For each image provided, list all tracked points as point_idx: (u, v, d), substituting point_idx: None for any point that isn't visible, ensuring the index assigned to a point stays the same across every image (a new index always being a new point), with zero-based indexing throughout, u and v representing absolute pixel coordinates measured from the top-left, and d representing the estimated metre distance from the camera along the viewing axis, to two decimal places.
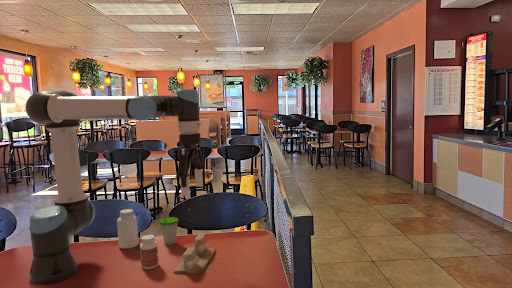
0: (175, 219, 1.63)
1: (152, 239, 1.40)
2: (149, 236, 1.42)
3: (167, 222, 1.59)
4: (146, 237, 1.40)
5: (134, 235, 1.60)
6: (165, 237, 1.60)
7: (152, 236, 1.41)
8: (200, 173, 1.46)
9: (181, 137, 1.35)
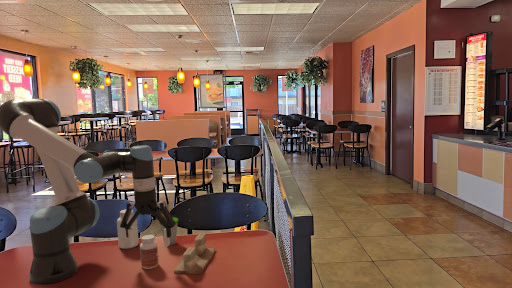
0: (175, 219, 1.63)
1: (152, 239, 1.40)
2: (149, 236, 1.42)
3: None
4: (146, 237, 1.40)
5: (134, 235, 1.60)
6: None
7: (152, 236, 1.41)
8: None
9: None
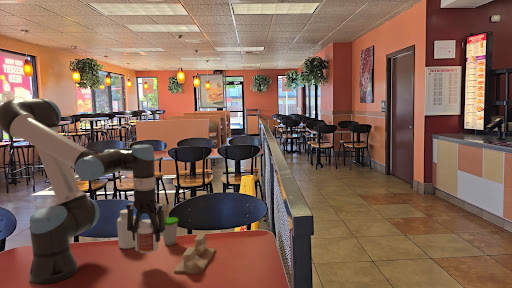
0: (175, 219, 1.63)
1: (150, 223, 1.39)
2: (147, 220, 1.41)
3: (167, 222, 1.59)
4: (143, 221, 1.40)
5: None
6: (165, 237, 1.60)
7: None
8: None
9: None
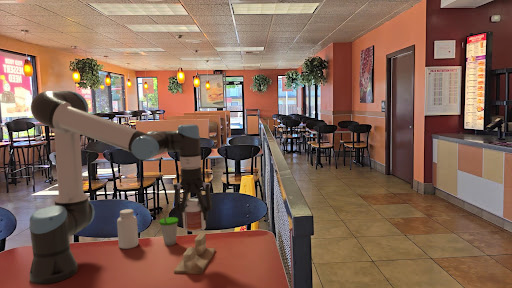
0: (175, 219, 1.63)
1: (197, 202, 1.41)
2: (194, 199, 1.43)
3: (167, 222, 1.59)
4: (191, 200, 1.41)
5: (134, 235, 1.60)
6: (165, 237, 1.60)
7: (197, 199, 1.42)
8: None
9: None
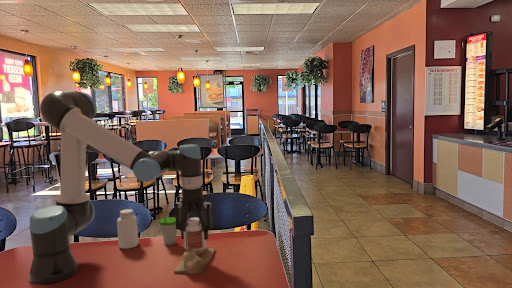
0: (175, 219, 1.63)
1: (198, 221, 1.42)
2: (195, 218, 1.44)
3: (167, 222, 1.59)
4: (192, 219, 1.42)
5: (134, 235, 1.60)
6: (165, 237, 1.60)
7: (198, 218, 1.43)
8: None
9: None
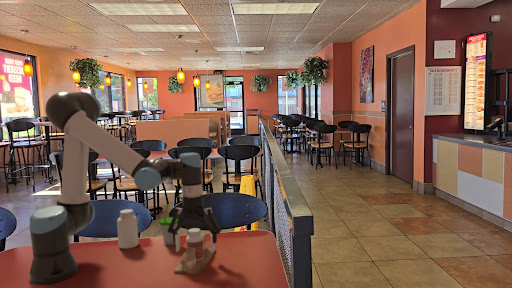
0: None
1: (198, 232, 1.42)
2: (195, 229, 1.44)
3: (167, 222, 1.59)
4: (192, 230, 1.43)
5: (134, 235, 1.60)
6: (165, 237, 1.60)
7: (198, 229, 1.44)
8: None
9: None
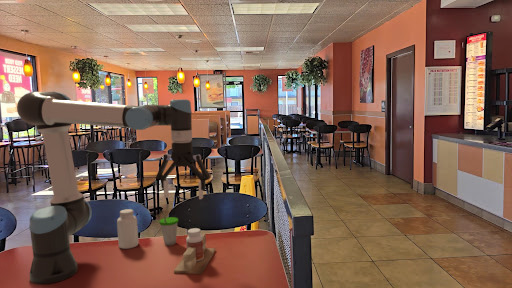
0: (175, 219, 1.63)
1: (198, 232, 1.42)
2: (195, 229, 1.44)
3: (167, 222, 1.59)
4: (192, 231, 1.43)
5: (134, 235, 1.60)
6: (165, 237, 1.60)
7: (198, 229, 1.44)
8: None
9: None
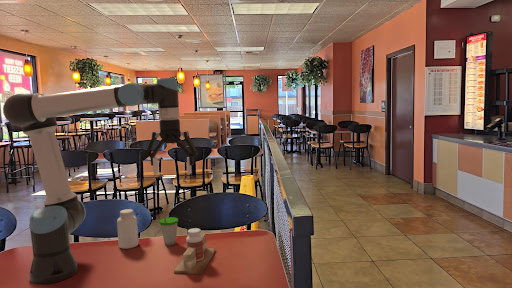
0: (175, 219, 1.63)
1: (199, 232, 1.42)
2: (195, 229, 1.44)
3: (167, 222, 1.59)
4: (192, 230, 1.43)
5: (134, 235, 1.60)
6: (165, 237, 1.60)
7: (198, 229, 1.44)
8: None
9: None
